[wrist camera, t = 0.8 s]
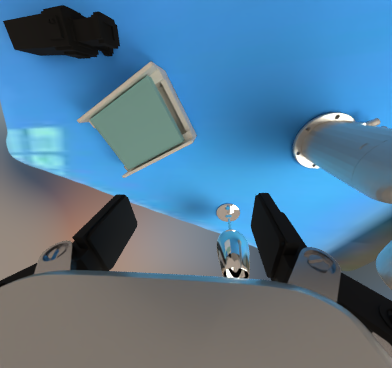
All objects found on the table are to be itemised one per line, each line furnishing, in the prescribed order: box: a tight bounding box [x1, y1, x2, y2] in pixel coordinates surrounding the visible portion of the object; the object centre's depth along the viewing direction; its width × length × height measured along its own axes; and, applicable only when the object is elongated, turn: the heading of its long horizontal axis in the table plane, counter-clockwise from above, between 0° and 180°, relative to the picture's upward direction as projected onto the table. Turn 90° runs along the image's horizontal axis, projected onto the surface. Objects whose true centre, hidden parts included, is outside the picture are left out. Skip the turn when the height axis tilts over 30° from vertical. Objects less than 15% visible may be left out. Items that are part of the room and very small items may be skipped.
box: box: [77, 62, 197, 178], centre depth 33 cm, size 20×15×8 cm
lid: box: [90, 76, 185, 171], centre depth 32 cm, size 16×13×2 cm
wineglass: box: [217, 204, 250, 279], centre depth 39 cm, size 8×8×20 cm
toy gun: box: [3, 5, 120, 59], centre depth 27 cm, size 6×25×10 cm, turn 85°
